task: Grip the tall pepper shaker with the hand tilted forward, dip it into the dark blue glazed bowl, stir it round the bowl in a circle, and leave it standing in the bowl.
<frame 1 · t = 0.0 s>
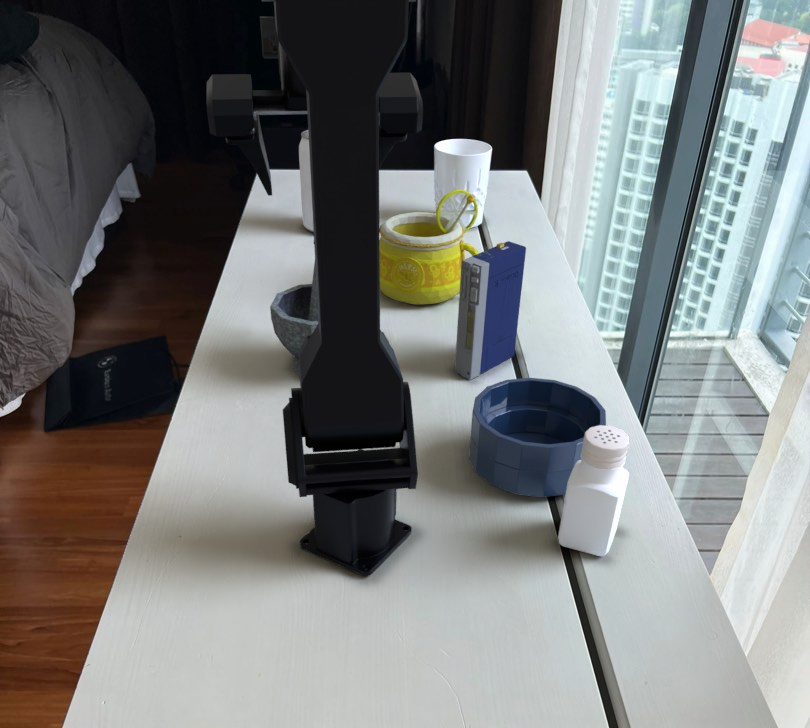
hand: (317, 191, 82), 15 cm above the table, tool pointing down, fingers open, 9 cm apart
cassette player: (484, 366, 88), on the table
white cup: (458, 222, 121), on the table
mortar and pestle: (324, 364, 87), on the table
pepper shaker: (585, 541, 66), on the table
mug: (427, 294, 101), on the table
bowl: (531, 464, 74), on the table
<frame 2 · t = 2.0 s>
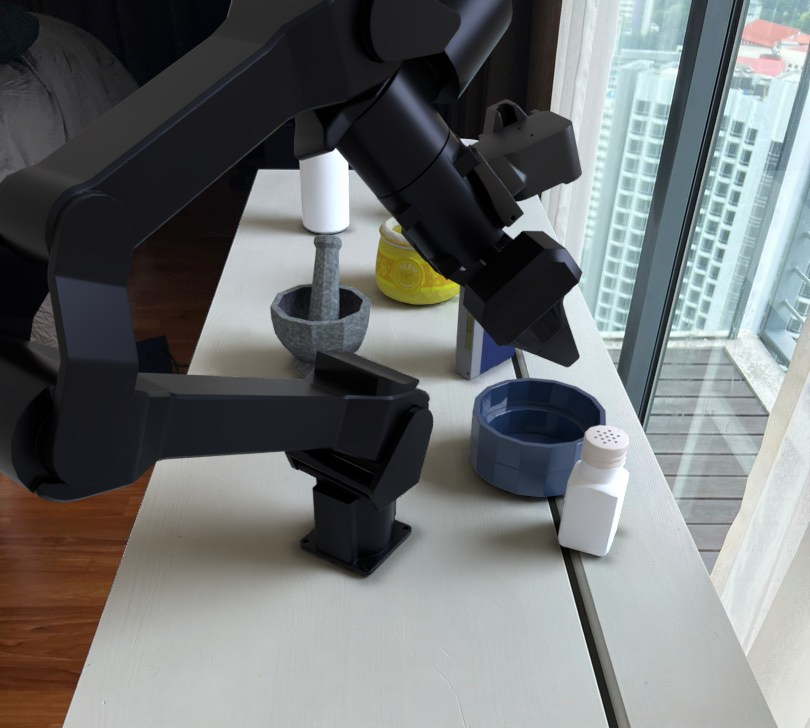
hand: (546, 334, 59), 15 cm above the table, tool tilted 40°, fingers open, 9 cm apart
nothing on the table moved.
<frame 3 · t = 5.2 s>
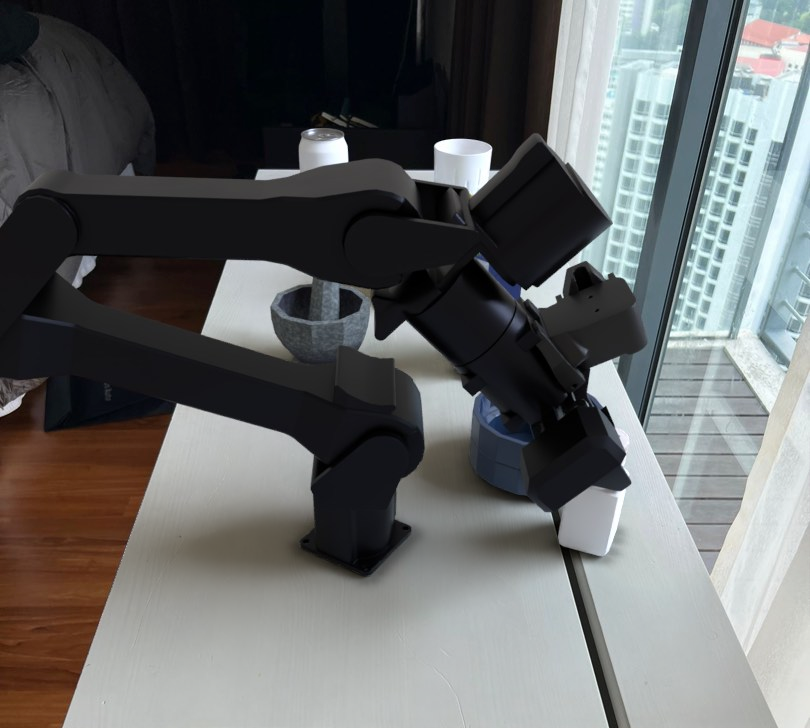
hand: (619, 470, 62), 7 cm above the table, tool tilted 45°, fingers closed on pepper shaker, 4 cm apart
pepper shaker: (585, 540, 66), on the table, touching gripper
everything else where it was.
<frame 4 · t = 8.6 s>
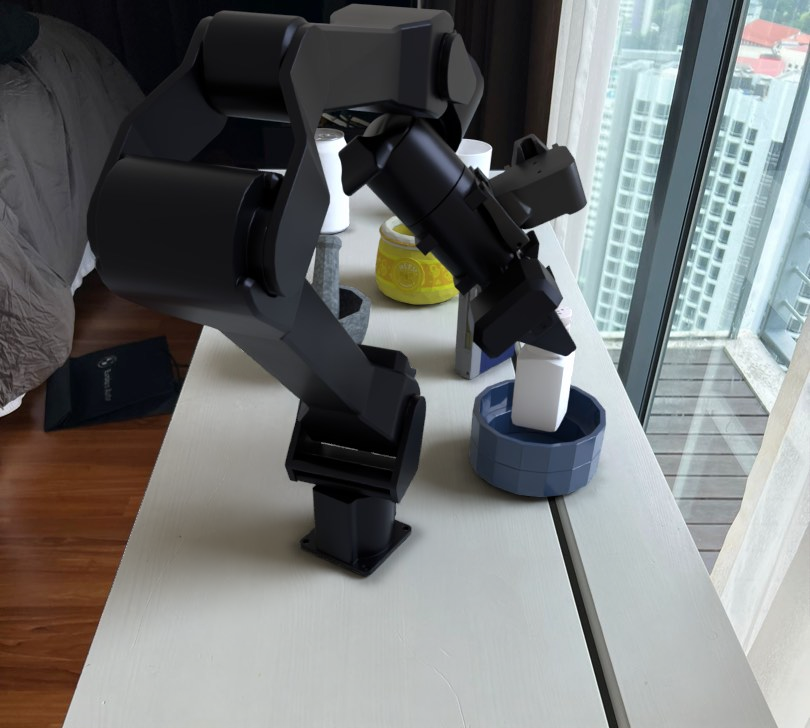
hand: (567, 341, 66), 12 cm above the table, tool tilted 45°, fingers closed on pepper shaker, 3 cm apart
pepper shaker: (537, 422, 70), point 5 cm above the table, touching gripper
everything else where it was.
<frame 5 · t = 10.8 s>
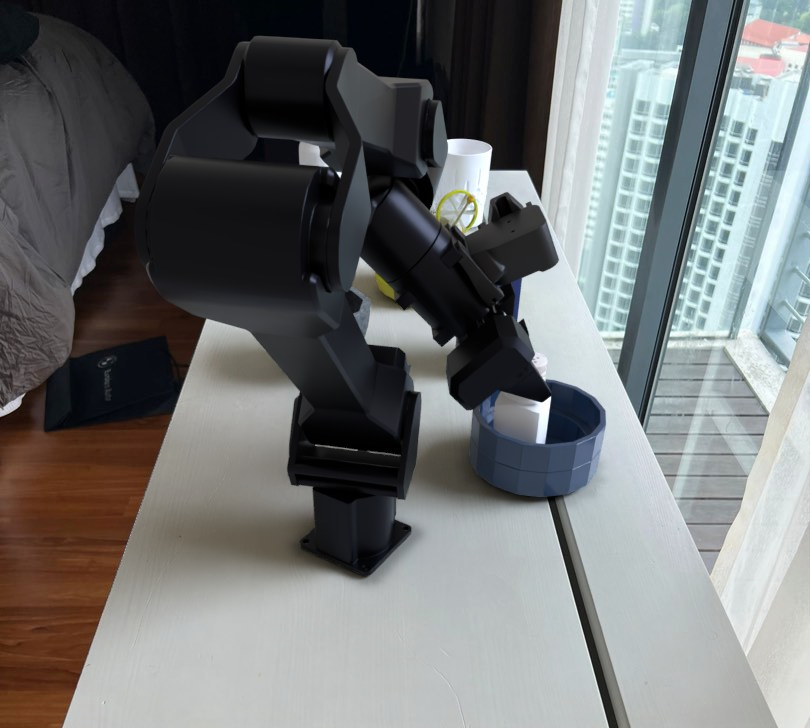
hand: (543, 387, 68), 8 cm above the table, tool tilted 45°, fingers closed on pepper shaker, 3 cm apart
pepper shaker: (516, 463, 73), point 1 cm above the table, touching gripper
everything else where it was.
when the fingers open (8 cm above the table, at t = 12.4 s): pepper shaker stays where it is, resting on bowl.
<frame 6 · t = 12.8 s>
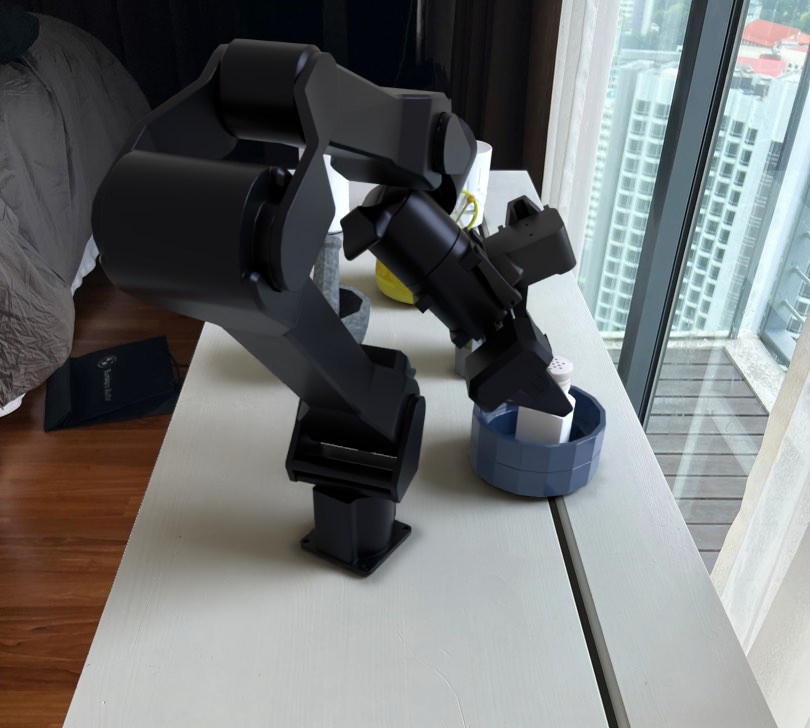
hand: (559, 388, 69), 8 cm above the table, tool tilted 45°, fingers open, 7 cm apart
pepper shaker: (538, 464, 73), resting on bowl
everything else where it was.
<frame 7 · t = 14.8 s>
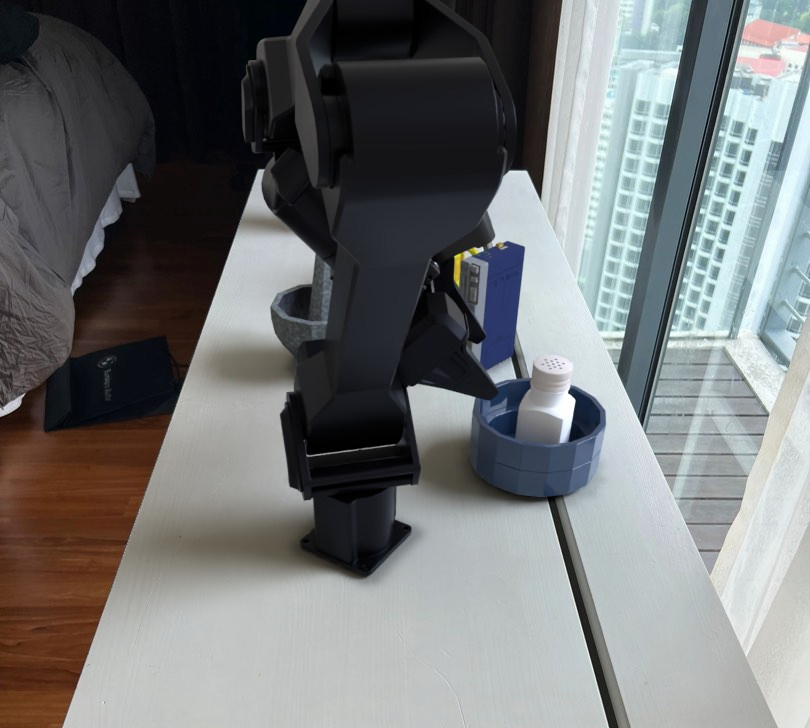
hand: (488, 366, 68), 9 cm above the table, tool tilted 45°, fingers open, 9 cm apart
nothing on the table moved.
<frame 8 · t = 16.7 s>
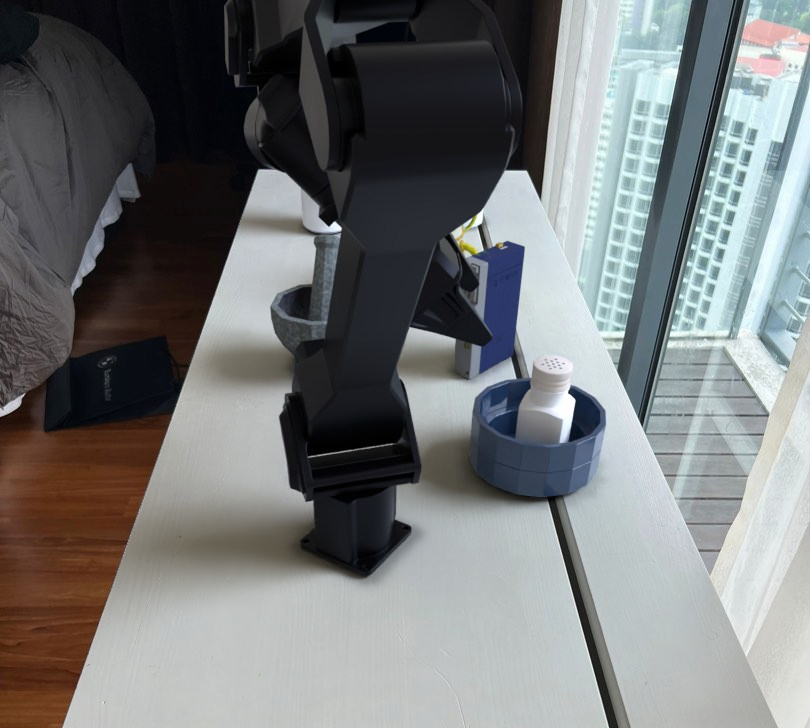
hand: (481, 313, 66), 13 cm above the table, tool tilted 45°, fingers open, 9 cm apart
nothing on the table moved.
at the end: pepper shaker 0.8 cm off-centre in the bowl, point 0.4 cm above the bowl's base; pepper shaker tilted 0°; mug moved 0.2 cm from its start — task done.
